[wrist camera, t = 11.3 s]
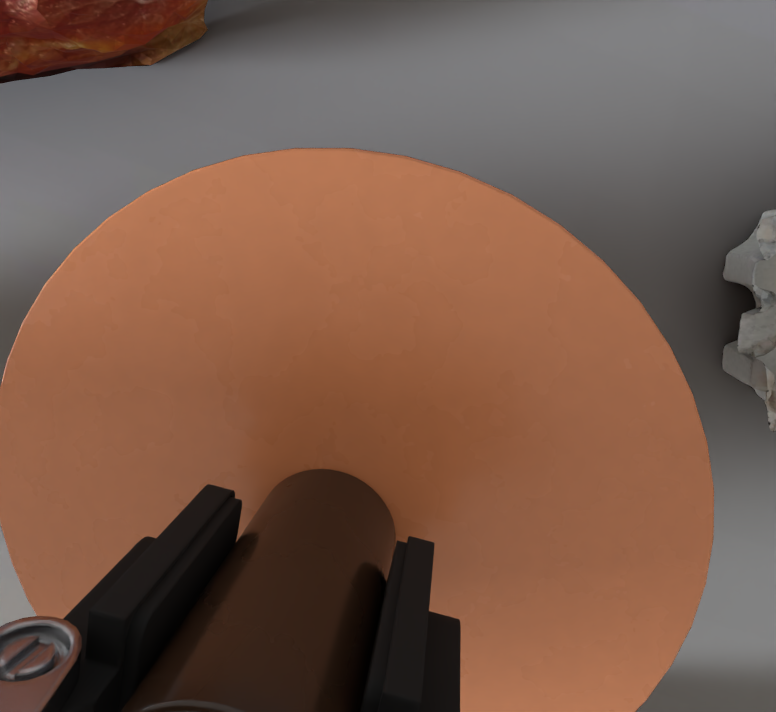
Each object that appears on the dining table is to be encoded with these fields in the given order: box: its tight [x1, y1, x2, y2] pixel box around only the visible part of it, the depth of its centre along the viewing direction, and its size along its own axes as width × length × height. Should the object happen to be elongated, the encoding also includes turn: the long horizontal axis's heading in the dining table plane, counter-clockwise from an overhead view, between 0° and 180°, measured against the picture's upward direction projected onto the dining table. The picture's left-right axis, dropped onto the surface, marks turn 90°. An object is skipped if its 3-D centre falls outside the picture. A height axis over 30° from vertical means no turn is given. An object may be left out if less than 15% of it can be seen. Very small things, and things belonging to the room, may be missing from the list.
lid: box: [0, 148, 714, 712], centre depth 11 cm, size 17×17×8 cm
